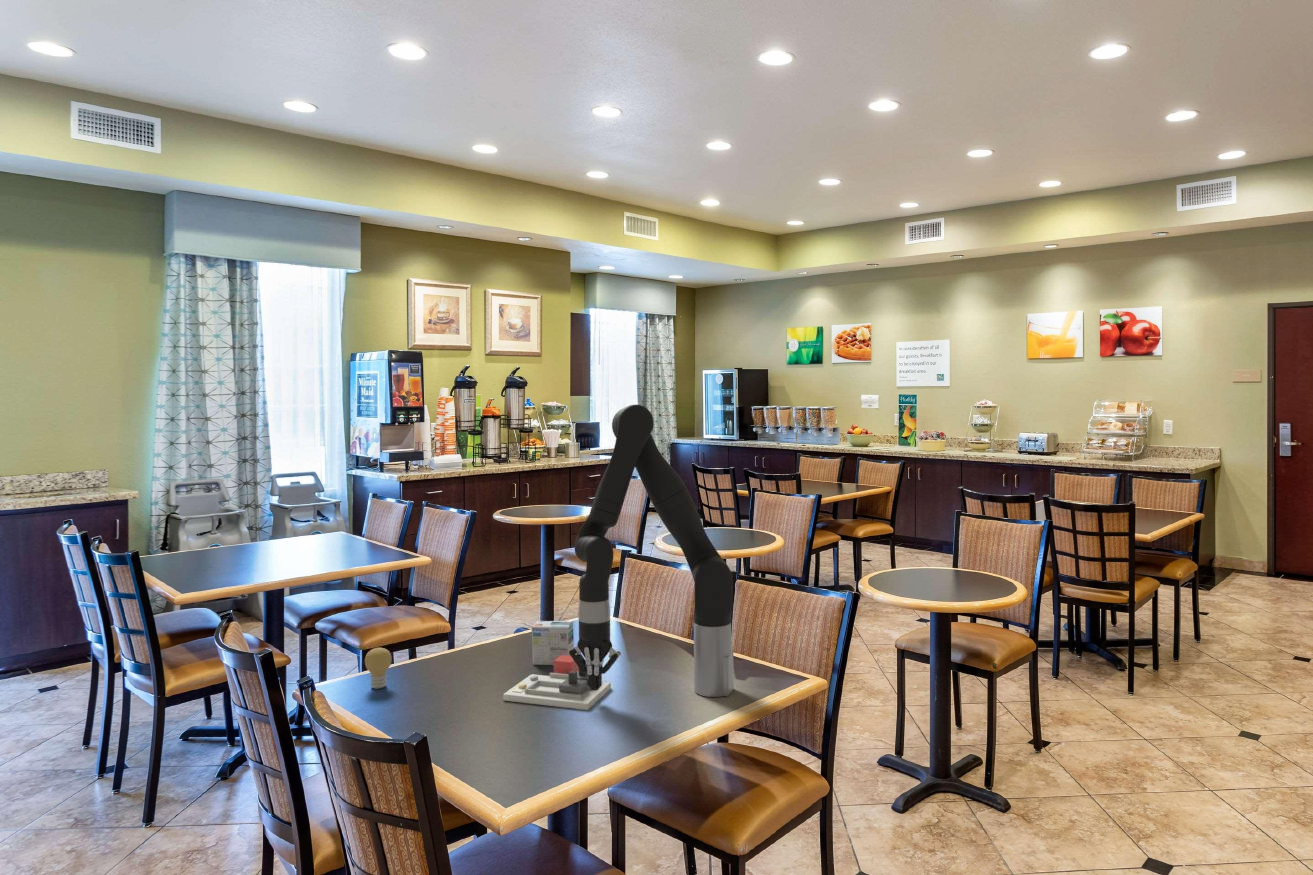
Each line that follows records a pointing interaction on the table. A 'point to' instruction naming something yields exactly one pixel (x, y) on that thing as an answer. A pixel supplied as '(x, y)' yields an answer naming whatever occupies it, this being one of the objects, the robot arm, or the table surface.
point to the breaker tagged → (573, 684)
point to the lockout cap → (565, 665)
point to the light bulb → (378, 666)
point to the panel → (554, 691)
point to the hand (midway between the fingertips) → (595, 689)
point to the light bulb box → (551, 641)
